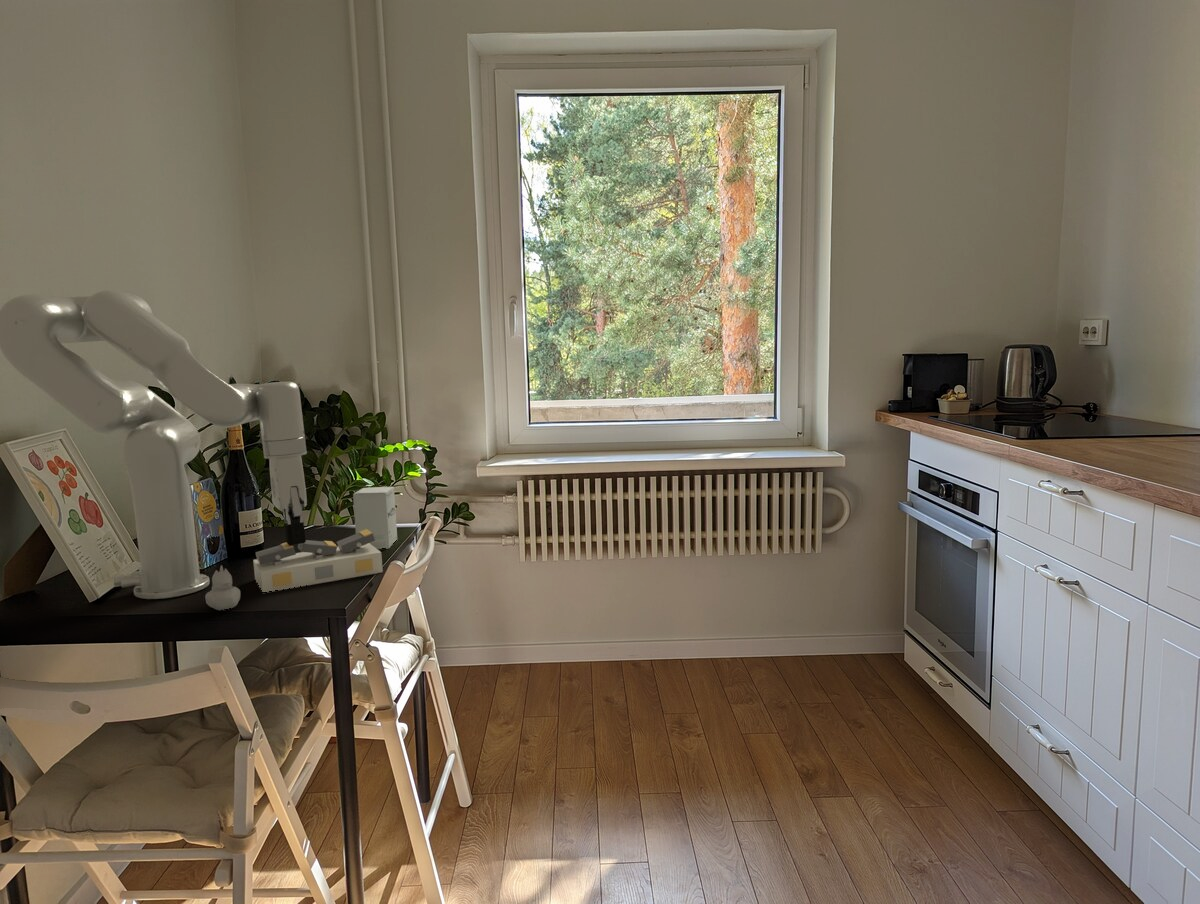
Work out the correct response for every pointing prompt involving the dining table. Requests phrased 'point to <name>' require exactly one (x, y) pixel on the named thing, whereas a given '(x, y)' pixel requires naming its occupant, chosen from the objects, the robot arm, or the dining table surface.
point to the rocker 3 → (355, 541)
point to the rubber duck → (222, 591)
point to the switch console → (317, 568)
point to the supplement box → (376, 514)
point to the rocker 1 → (275, 553)
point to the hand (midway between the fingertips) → (296, 542)
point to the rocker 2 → (318, 547)
